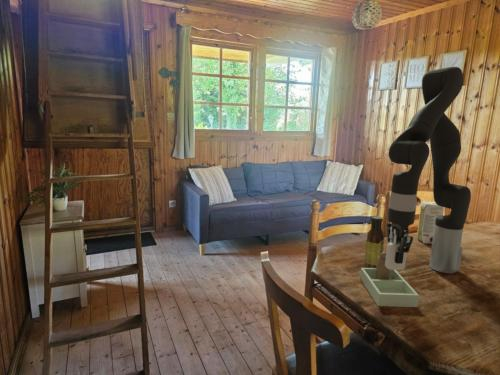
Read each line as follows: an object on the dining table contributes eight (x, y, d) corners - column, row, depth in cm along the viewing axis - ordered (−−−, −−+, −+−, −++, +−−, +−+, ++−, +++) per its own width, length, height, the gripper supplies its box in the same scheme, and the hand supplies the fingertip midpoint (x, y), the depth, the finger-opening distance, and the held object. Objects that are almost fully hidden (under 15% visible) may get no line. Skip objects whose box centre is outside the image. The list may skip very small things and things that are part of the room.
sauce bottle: (382, 271, 123) (388, 220, 119) (365, 269, 124) (370, 219, 120) (379, 263, 129) (384, 215, 125) (363, 262, 130) (367, 214, 126)
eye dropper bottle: (386, 263, 105) (390, 228, 102) (405, 267, 102) (409, 231, 100) (384, 268, 101) (388, 232, 99) (403, 272, 98) (408, 235, 96)
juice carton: (441, 244, 151) (446, 205, 147) (422, 244, 151) (427, 204, 147) (432, 238, 158) (437, 201, 154) (414, 238, 158) (419, 200, 154)
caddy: (393, 278, 117) (397, 247, 114) (417, 307, 99) (422, 270, 96) (359, 278, 117) (362, 246, 114) (377, 305, 99) (381, 269, 97)
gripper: (426, 214, 91) (418, 270, 94) (404, 201, 104) (398, 251, 108) (399, 213, 91) (392, 270, 94) (380, 201, 105) (375, 250, 108)
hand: (395, 259), depth 101 cm, fingers closed on eye dropper bottle, 3 cm apart
